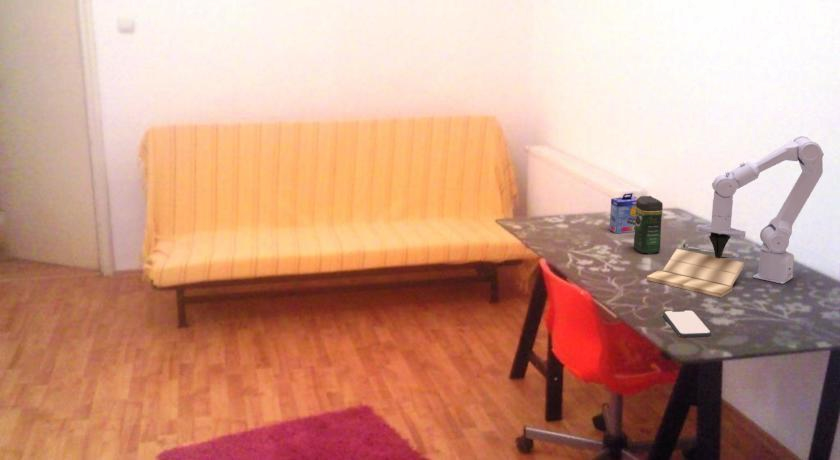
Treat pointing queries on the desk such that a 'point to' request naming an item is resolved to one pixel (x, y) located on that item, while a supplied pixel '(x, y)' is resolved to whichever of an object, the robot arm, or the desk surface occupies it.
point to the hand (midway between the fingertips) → (718, 257)
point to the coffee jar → (648, 224)
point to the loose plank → (704, 267)
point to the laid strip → (690, 283)
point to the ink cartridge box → (623, 214)
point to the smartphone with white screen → (687, 323)
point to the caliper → (705, 251)
